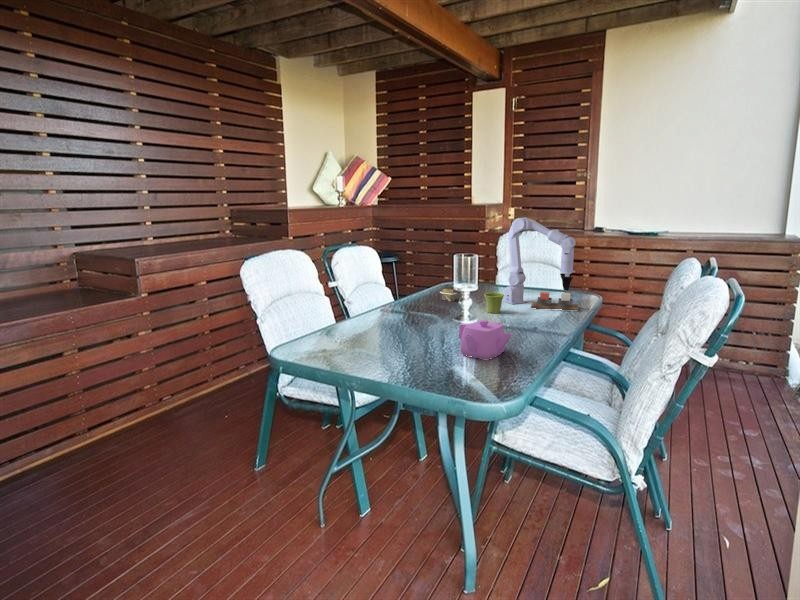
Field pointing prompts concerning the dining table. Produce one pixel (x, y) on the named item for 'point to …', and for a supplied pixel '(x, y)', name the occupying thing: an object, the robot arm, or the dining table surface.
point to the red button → (544, 295)
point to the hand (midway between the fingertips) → (565, 288)
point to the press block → (554, 304)
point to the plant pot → (493, 302)
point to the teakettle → (483, 339)
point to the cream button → (565, 296)
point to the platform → (448, 295)
